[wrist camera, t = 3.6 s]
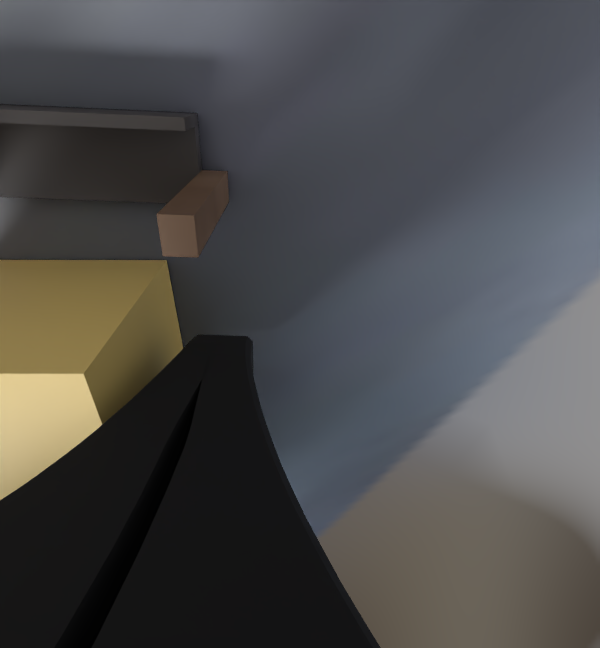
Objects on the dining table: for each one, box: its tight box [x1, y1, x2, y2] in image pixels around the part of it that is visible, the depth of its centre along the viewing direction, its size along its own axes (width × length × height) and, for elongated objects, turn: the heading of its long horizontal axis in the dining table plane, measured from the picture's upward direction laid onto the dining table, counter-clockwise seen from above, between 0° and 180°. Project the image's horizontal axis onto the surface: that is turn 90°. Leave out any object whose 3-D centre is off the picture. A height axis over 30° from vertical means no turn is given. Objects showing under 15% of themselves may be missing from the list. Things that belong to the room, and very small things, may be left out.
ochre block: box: [0, 260, 183, 500], centre depth 8 cm, size 4×4×4 cm
